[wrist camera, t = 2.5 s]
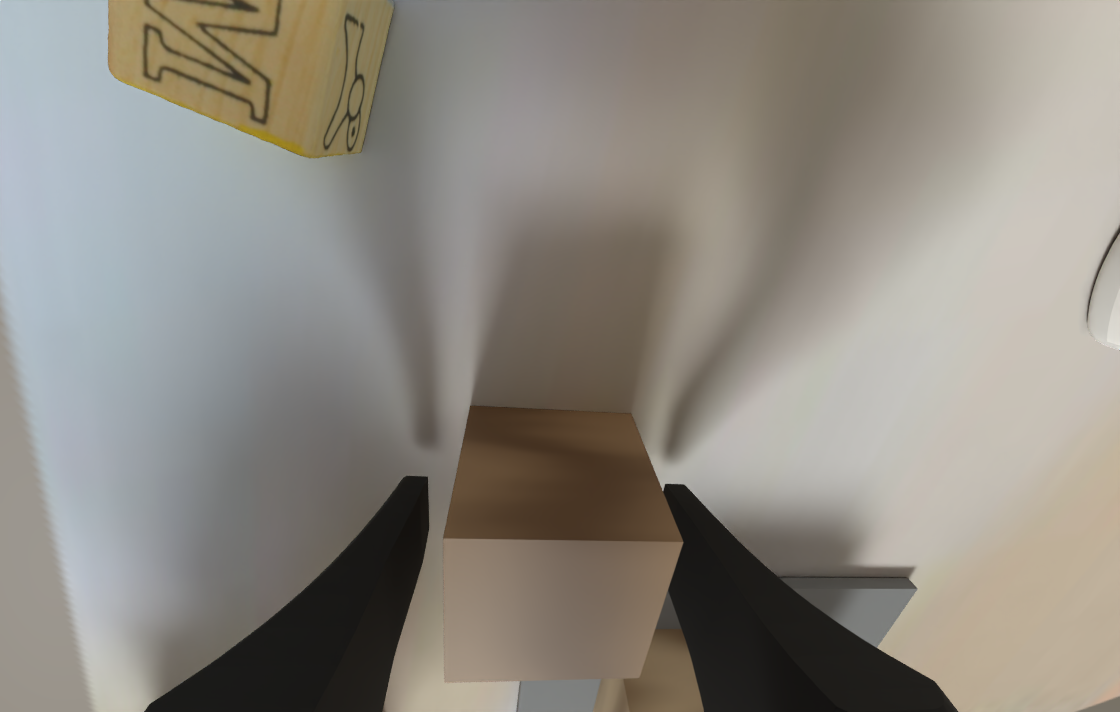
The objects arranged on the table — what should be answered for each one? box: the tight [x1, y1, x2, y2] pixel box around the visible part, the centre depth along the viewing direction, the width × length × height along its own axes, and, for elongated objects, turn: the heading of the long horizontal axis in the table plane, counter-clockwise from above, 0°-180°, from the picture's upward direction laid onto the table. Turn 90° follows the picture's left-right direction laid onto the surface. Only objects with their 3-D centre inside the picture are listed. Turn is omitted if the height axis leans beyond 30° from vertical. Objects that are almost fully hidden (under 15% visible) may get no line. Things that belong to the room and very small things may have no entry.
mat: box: [516, 578, 917, 712], centre depth 20 cm, size 16×14×1 cm
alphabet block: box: [108, 0, 395, 158], centre depth 8 cm, size 3×3×3 cm
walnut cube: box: [443, 406, 683, 683], centre depth 12 cm, size 5×5×5 cm
